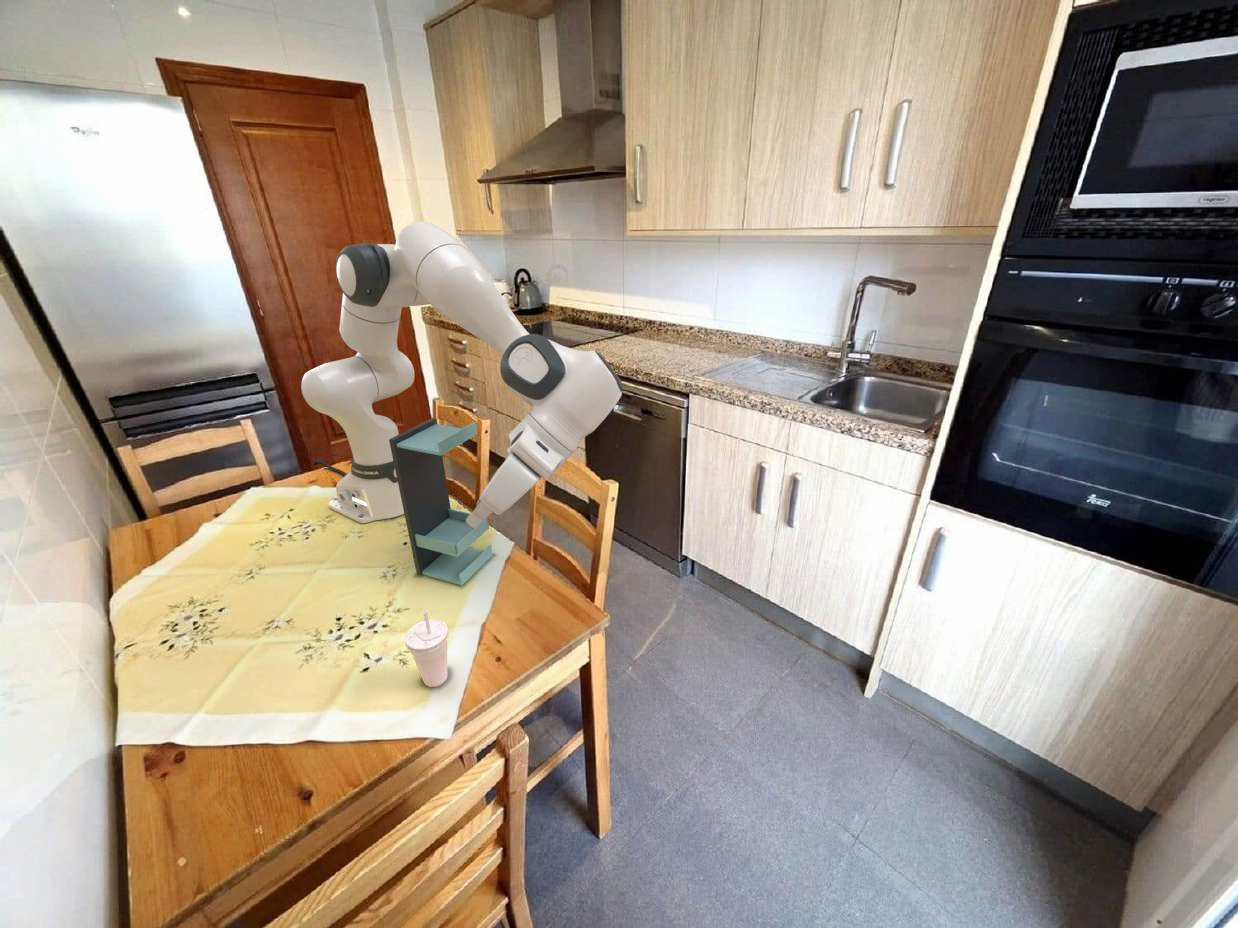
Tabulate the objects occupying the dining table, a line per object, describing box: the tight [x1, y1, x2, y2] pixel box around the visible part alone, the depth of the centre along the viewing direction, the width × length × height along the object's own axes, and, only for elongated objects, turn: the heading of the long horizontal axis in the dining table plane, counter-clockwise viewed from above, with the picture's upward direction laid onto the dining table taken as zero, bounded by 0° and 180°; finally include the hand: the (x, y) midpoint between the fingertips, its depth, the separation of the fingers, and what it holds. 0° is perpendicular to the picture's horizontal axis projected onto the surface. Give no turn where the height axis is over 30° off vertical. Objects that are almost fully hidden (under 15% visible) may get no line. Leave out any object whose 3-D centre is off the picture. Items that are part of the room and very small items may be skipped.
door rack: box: [389, 417, 493, 587], centre depth 102 cm, size 11×12×32 cm
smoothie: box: [404, 610, 450, 688], centre depth 79 cm, size 6×6×14 cm
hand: (475, 514), depth 75 cm, fingers open, 8 cm apart
